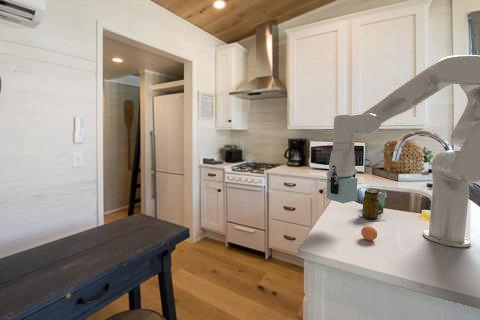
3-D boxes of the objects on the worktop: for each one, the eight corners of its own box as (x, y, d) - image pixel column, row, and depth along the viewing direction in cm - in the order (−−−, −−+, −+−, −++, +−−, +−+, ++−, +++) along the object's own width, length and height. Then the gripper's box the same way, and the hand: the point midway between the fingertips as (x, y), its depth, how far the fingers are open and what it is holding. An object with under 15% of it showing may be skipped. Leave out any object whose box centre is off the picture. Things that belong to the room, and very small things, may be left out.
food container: (390, 215, 107) (391, 194, 106) (375, 215, 108) (377, 194, 107) (380, 207, 119) (381, 188, 118) (366, 207, 120) (367, 188, 119)
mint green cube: (339, 196, 97) (340, 175, 96) (356, 200, 90) (357, 178, 89) (326, 198, 93) (327, 176, 92) (343, 203, 86) (344, 180, 85)
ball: (366, 235, 86) (367, 222, 85) (380, 241, 81) (380, 227, 81) (357, 238, 83) (358, 225, 83) (371, 244, 79) (372, 230, 78)
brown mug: (370, 214, 109) (372, 189, 108) (385, 220, 101) (387, 193, 100) (357, 215, 108) (358, 190, 106) (371, 222, 99) (372, 194, 98)
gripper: (349, 146, 97) (347, 187, 99) (319, 147, 88) (318, 193, 90) (366, 147, 90) (364, 191, 92) (336, 148, 82) (334, 197, 84)
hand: (341, 192), depth 91 cm, fingers closed on mint green cube, 7 cm apart
